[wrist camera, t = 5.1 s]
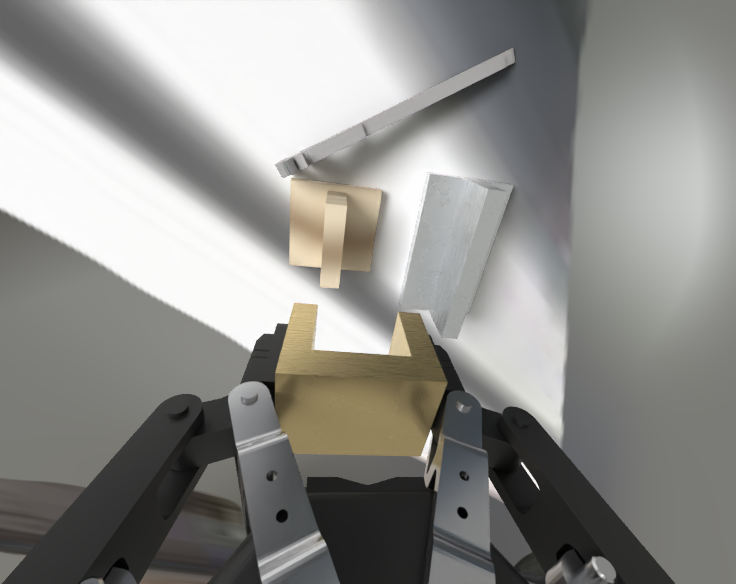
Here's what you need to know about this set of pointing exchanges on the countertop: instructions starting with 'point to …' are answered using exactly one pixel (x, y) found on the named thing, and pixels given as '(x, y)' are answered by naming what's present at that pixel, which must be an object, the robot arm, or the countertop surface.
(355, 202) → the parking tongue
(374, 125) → the caliper
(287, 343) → the u clip
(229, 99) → the countertop surface
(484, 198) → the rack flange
